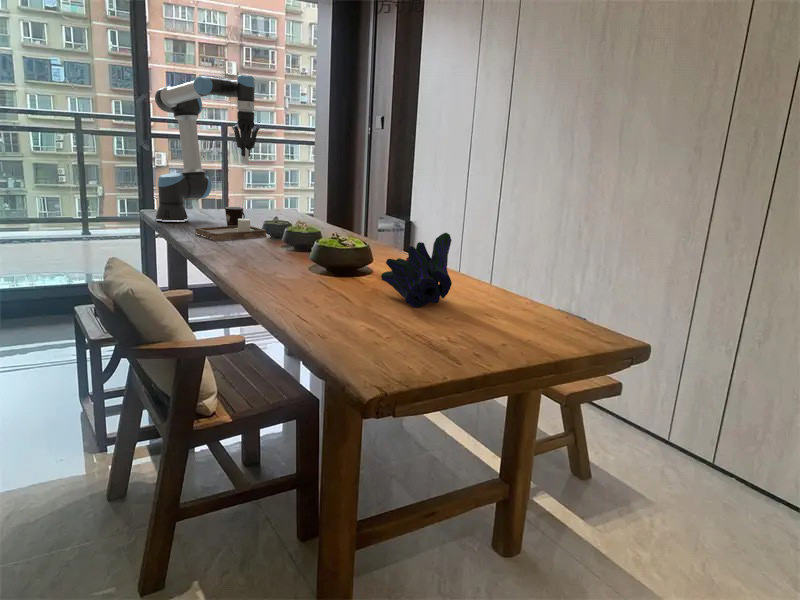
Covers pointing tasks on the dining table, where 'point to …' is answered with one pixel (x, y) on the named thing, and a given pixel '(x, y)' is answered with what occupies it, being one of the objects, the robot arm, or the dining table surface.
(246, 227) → the block
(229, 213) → the coffee mug
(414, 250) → the dark blue branching piece
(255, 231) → the tray
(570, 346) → the dining table surface
